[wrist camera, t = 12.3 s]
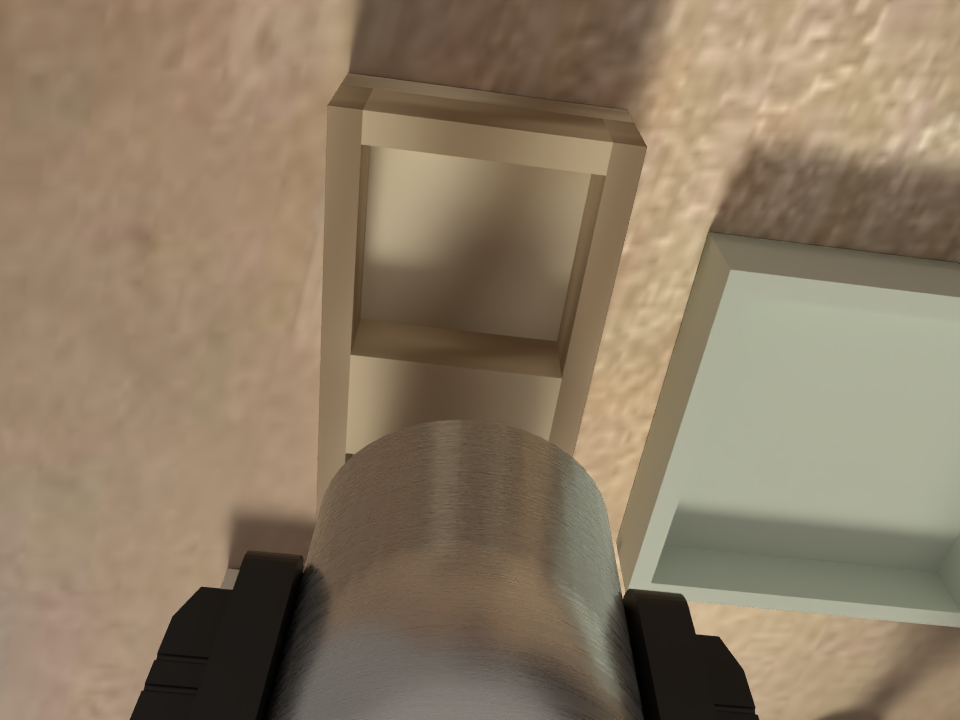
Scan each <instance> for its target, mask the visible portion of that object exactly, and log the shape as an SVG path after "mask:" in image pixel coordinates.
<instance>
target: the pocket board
mask: <svg viewBox="0 0 960 720" xmlns="http://www.w3.org/2000/svg"><path fill="white" fill-rule="evenodd" d="M646 149H647V146H646V144H645V142H644V140H643V139H642V137H641V135H640V133H639V131H638V129H637V128H636V126H635V124H634V122H633V120H632V118H631V116H630V115H629V113H628V111H627V110H623V109H615V108H608V107H600V106H593V105H585V104H578V103H570V102H562V101H555V100H547V99H540V98H532V97H525V96H517V95H510V94H502V93H495V92H487V91H480V90H472V89H465V88H457V87H449V86H442V85H434V84H427V83H419V82H412V81H404V80H397V79H389V78H382V77H374V76H367V75H359V74H352V73H348V74H347V76H346V77H345V79H344V80H343V82H342V84H341V85H340V87H339V88H338V90H337V91H336V93H335V95H334V96H333V98H332V99H331V101H330V102H329V104H328V109H327V145H326V181H325V218H324V254H323V290H322V326H321V363H320V399H319V435H318V472H317V508H316V521H317V517H318V513H319V509H320V506H321V503H322V499H323V496H324V493H325V491H326V489H327V487H328V486H329V484H330V482H331V480H332V479H333V477H334V476H335V475H336V473H337V472H338V471H339V469H340V468H341V467H342V466H343V465H344V464H345V463H346V462H347V461H348V460H349V459H350V458H351V457H352V456H353V455H354V454H356V453H357V452H359V451H360V450H361V449H363V448H364V447H365V446H367V445H368V444H370V443H372V442H374V441H376V440H377V439H379V438H381V437H383V436H385V435H388V434H390V433H393V432H395V431H398V430H400V429H403V428H407V427H411V426H414V425H418V424H423V423H429V422H435V421H444V420H476V421H486V422H492V423H498V424H504V425H507V426H511V427H514V428H518V429H522V430H524V431H527V432H529V433H532V434H534V435H537V436H539V437H541V438H543V439H545V440H547V441H549V442H550V443H552V444H554V445H556V446H557V447H559V448H560V449H562V450H563V451H564V452H566V453H567V454H568V455H570V456H571V457H572V458H573V454H574V449H575V445H576V441H577V437H578V433H579V429H580V424H581V420H582V416H583V412H584V408H585V404H586V399H587V395H588V391H589V387H590V383H591V378H592V374H593V370H594V366H595V362H596V358H597V353H598V349H599V345H600V341H601V337H602V333H603V328H604V324H605V320H606V316H607V312H608V308H609V303H610V299H611V295H612V291H613V287H614V283H615V278H616V274H617V270H618V266H619V262H620V258H621V253H622V249H623V245H624V241H625V237H626V233H627V228H628V224H629V220H630V216H631V212H632V208H633V203H634V199H635V195H636V191H637V187H638V182H639V178H640V174H641V170H642V166H643V162H644V157H645V153H646Z"/></svg>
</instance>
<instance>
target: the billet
mask: <svg viewBox="0 0 960 720" xmlns="http://www.w3.org/2000/svg"><path fill="white" fill-rule="evenodd" d="M265 720H644V715H643V710H642V704H641V699H640V693H639V688H638V682H637V677H636V671H635V665H634V660H633V654H632V649H631V643H630V638H629V632H628V626H627V621H626V615H625V610H624V604H623V599H622V593H621V587H620V582H619V576H618V571H617V565H616V560H615V554H614V549H613V543H612V537H611V532H610V526H609V521H608V515H607V510H606V507H605V504H604V501H603V498H602V495H601V493H600V491H599V490H598V488H597V486H596V484H595V482H594V481H593V480H592V478H591V477H590V476H589V474H588V473H587V472H586V471H585V469H584V468H583V467H582V466H581V465H580V464H579V463H578V462H577V461H576V460H574V459H573V458H572V457H571V456H570V455H568V454H567V453H566V452H564V451H563V450H562V449H560V448H559V447H557V446H556V445H554V444H552V443H550V442H549V441H547V440H545V439H543V438H541V437H539V436H537V435H534V434H532V433H529V432H527V431H524V430H522V429H518V428H514V427H511V426H507V425H504V424H498V423H492V422H486V421H476V420H444V421H435V422H429V423H423V424H418V425H414V426H411V427H407V428H403V429H400V430H398V431H395V432H393V433H390V434H388V435H385V436H383V437H381V438H379V439H377V440H376V441H374V442H372V443H370V444H368V445H367V446H365V447H364V448H363V449H361V450H360V451H359V452H357V453H356V454H354V455H353V456H352V457H351V458H350V459H349V460H348V461H347V462H346V463H345V464H344V465H343V466H342V467H341V468H340V469H339V471H338V472H337V473H336V475H335V476H334V477H333V479H332V480H331V482H330V484H329V486H328V487H327V489H326V491H325V493H324V496H323V499H322V503H321V506H320V509H319V513H318V517H317V521H316V525H315V528H314V532H313V536H312V540H311V544H310V548H309V552H308V556H307V559H306V563H305V567H304V571H303V576H302V580H301V584H300V588H299V591H298V595H297V599H296V603H295V607H294V611H293V615H292V619H291V622H290V626H289V630H288V634H287V638H286V642H285V646H284V650H283V653H282V657H281V661H280V665H279V669H278V673H277V677H276V681H275V684H274V688H273V692H272V696H271V700H270V704H269V708H268V712H267V715H266V719H265Z"/></svg>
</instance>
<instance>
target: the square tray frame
mask: <svg viewBox="0 0 960 720" xmlns="http://www.w3.org/2000/svg"><path fill="white" fill-rule="evenodd" d="M616 544H617V550H618V555H619V560H620V566H621V571H622V576H623V582H624V587H625V593H626V591H627V590H628V589H640V590H651V591H661V592H671V593H680V594H682V595H683V596H684V597H685V599H686V601H690V602H700V603H711V604H721V605H731V606H742V607H752V608H763V609H773V610H783V611H794V612H804V613H814V614H825V615H835V616H846V617H856V618H866V619H877V620H887V621H898V622H908V623H918V624H929V625H939V626H950V627H960V263H954V262H946V261H938V260H930V259H922V258H914V257H906V256H898V255H890V254H882V253H874V252H866V251H858V250H850V249H842V248H834V247H826V246H818V245H810V244H802V243H794V242H786V241H777V240H769V239H761V238H753V237H745V236H737V235H729V234H721V233H713V232H709V233H708V236H707V239H706V243H705V246H704V249H703V253H702V256H701V259H700V263H699V266H698V270H697V273H696V276H695V280H694V283H693V286H692V290H691V293H690V296H689V300H688V303H687V307H686V310H685V313H684V317H683V320H682V323H681V327H680V330H679V333H678V337H677V340H676V344H675V347H674V350H673V354H672V357H671V360H670V364H669V367H668V370H667V374H666V377H665V380H664V384H663V387H662V391H661V394H660V397H659V401H658V404H657V407H656V411H655V414H654V417H653V421H652V424H651V428H650V431H649V434H648V438H647V441H646V444H645V448H644V451H643V454H642V458H641V461H640V465H639V468H638V471H637V475H636V478H635V481H634V485H633V488H632V491H631V495H630V498H629V502H628V505H627V508H626V512H625V515H624V518H623V522H622V525H621V528H620V532H619V535H618V539H617V542H616Z"/></svg>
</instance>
